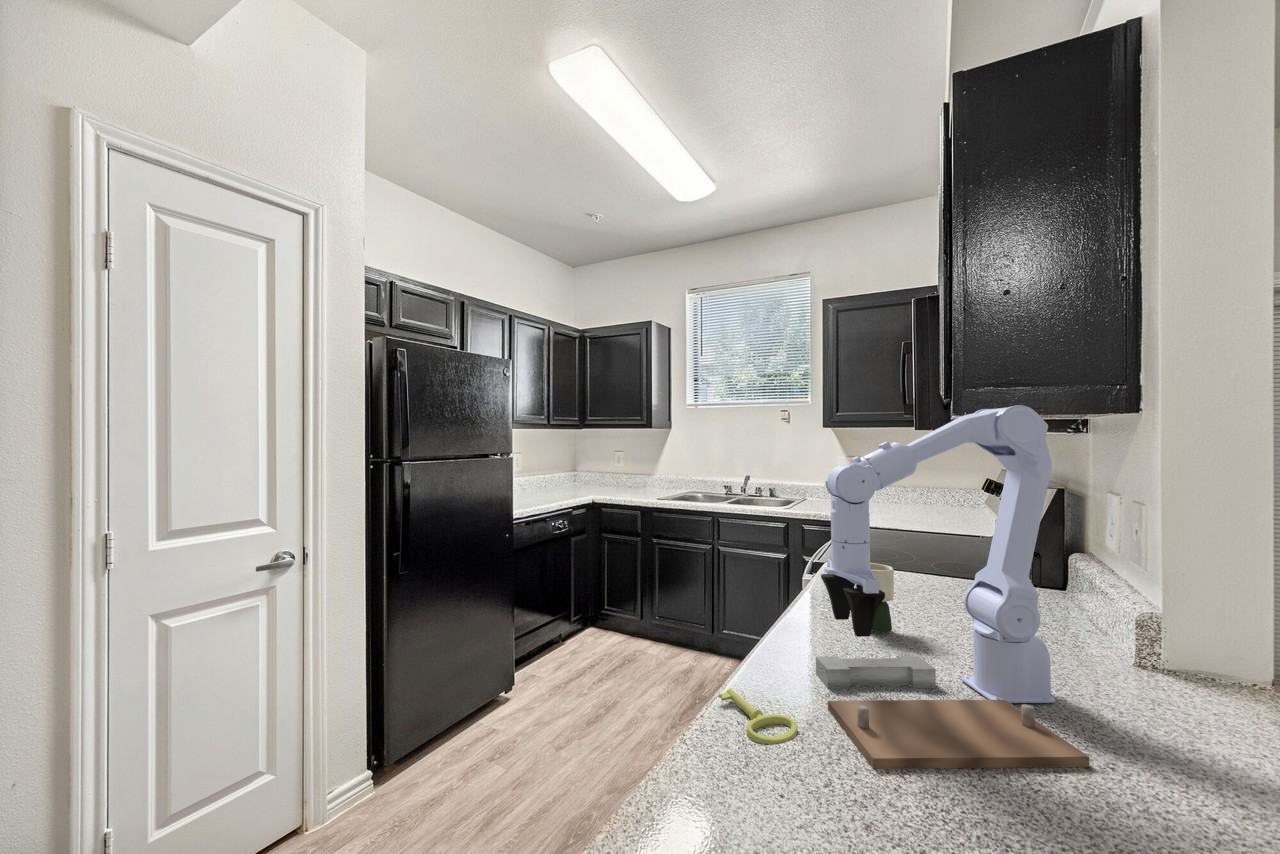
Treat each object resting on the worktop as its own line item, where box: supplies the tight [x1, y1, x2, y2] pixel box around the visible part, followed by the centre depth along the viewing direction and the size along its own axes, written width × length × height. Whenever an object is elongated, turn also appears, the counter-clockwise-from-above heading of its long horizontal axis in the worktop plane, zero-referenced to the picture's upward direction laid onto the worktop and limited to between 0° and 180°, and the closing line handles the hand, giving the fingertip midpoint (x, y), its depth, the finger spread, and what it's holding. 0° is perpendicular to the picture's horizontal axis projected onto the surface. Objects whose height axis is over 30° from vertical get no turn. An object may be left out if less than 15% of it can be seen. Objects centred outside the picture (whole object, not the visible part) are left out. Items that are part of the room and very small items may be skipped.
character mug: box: [854, 562, 895, 633], centre depth 109 cm, size 11×7×13 cm, turn 118°
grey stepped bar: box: [815, 655, 937, 689], centre depth 86 cm, size 17×5×3 cm, turn 91°
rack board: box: [827, 699, 1090, 770], centre depth 70 cm, size 26×14×4 cm, turn 91°
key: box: [718, 688, 798, 745], centre depth 73 cm, size 7×12×2 cm, turn 44°
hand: (851, 627), depth 84 cm, fingers open, 7 cm apart
